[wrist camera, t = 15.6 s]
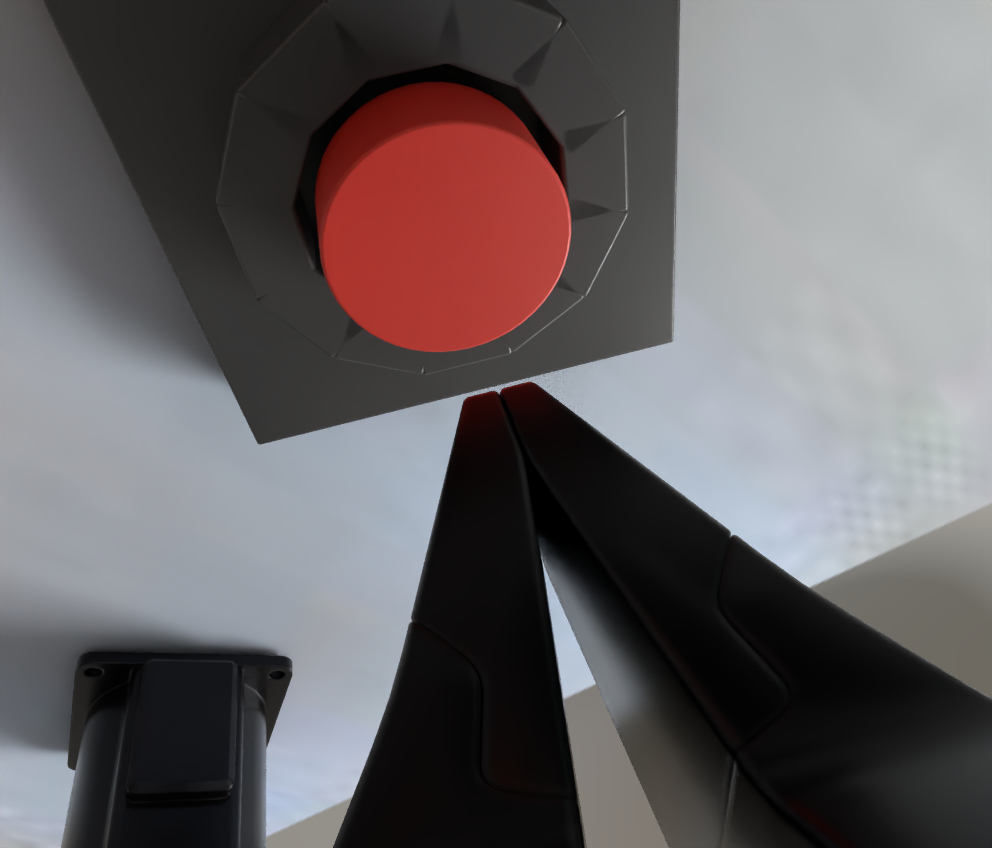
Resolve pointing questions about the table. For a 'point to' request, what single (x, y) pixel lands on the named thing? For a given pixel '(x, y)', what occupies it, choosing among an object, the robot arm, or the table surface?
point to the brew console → (305, 137)
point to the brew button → (439, 218)
